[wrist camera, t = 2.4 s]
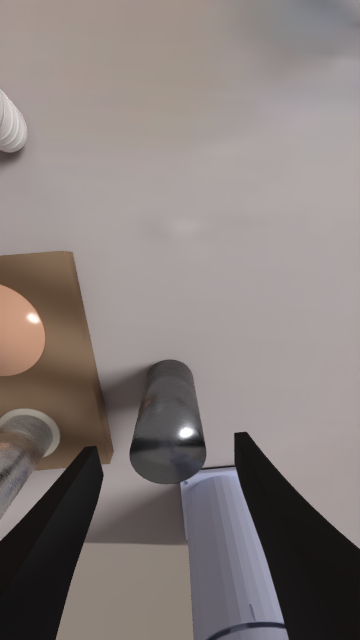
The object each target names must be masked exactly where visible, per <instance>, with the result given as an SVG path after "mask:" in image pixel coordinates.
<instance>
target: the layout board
mask: <svg viewBox="0 0 360 640" xmlns="http://www.w3.org/2000/svg"><path fill="white" fill-rule="evenodd" d="M87 446H97V449H98V454H99V458H100V462H101V464H110V461H111V458H112V455H113V452H114V451H113V446H112V441H111V436H110V431H109V427H108V422H107V417H106V412H105V407H104V402H103V398H102V393H101V388H100V383H99V378H98V373H97V369H96V364H95V359H94V354H93V349H92V345H91V340H90V335H89V330H88V325H87V320H86V316H85V311H84V306H83V301H82V296H81V291H80V287H79V282H78V277H77V272H76V267H75V262H74V258H73V253H72V252H67V251H56V252H43V253H30V254H17V255H4V256H0V519H1V518H2V516H3V515H4V513H5V512H6V510H7V509H8V507H9V506H10V504H11V503H12V501H13V500H14V499H15V497H16V496H17V494H18V493H19V491H20V490H21V488H22V487H23V485H24V484H25V482H26V481H27V480H28V478H29V477H30V475H31V474H32V472H33V471H35V470H46V469H57V468H67V467H68V466H69V465H70V464H71V463H72V461H73V460H74V459H75V458H76V457H77V455H78V454H79V453H80V452H81V451H82V449H83V448H84V447H87Z"/></svg>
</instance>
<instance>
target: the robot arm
mask: <svg viewBox="0 0 360 640" xmlns="http://www.w3.org/2000/svg"><path fill="white" fill-rule="evenodd" d="M234 452H235V467H229V468H219V469H208V470H200V471H199V472H198V473H197V474H195V475H194V476H193V477H191V478H190V479H188V480H185V481H183V482H180V488H181V498H182V508H183V518H184V527H185V537H186V540H187V541H188V547H189V564H190V583H191V600H192V617H193V636H194V640H360V549H359V548H358V547H357V546H356V545H354V544H353V543H352V542H351V541H350V540H348V539H347V538H346V537H345V536H344V535H343V534H341V533H340V532H339V531H338V530H337V529H336V528H335V527H334V526H333V525H331V524H330V523H329V522H328V521H327V520H326V519H325V518H324V517H323V516H322V515H321V514H320V513H319V512H318V511H316V510H315V509H314V508H313V507H312V506H311V505H310V504H309V503H308V502H307V501H306V500H305V499H304V498H303V497H302V496H301V495H300V494H299V493H298V492H297V491H296V490H295V488H294V487H293V486H292V485H291V484H290V483H289V482H288V481H287V480H286V479H285V478H284V477H283V476H282V474H281V473H280V472H279V471H278V470H277V469H276V468H275V466H274V465H273V464H272V463H271V462H270V461H269V459H268V458H267V457H266V456H265V455H264V453H263V452H262V451H261V450H260V448H259V447H258V446H257V445H256V443H255V442H254V441H253V440H252V438H251V437H250V436H249V434H248V433H247V432H239V433H234ZM103 476H104V475H103V470H102V466H101V462H100V458H99V454H98V449H97V446H87V447H84V448H83V449H82V451H81V452H80V453H79V454H78V455H77V457H76V458H75V459H74V460H73V461H72V463H71V464H70V465H69V466H68V467H67V469H66V470H65V471H64V472H63V473H62V475H61V476H60V477H59V478H58V479H57V480H56V482H55V483H54V484H53V485H52V486H51V487H50V489H49V490H48V491H47V492H46V493H45V494H44V495H43V497H42V498H41V499H40V500H39V501H38V502H37V503H36V504H35V505H34V506H33V508H32V509H31V510H30V511H29V512H28V513H27V514H26V515H25V516H24V517H23V518H22V520H21V521H20V522H19V523H18V524H17V525H16V526H15V527H14V528H13V529H12V530H11V531H10V532H9V533H8V534H7V535H6V536H5V537H4V538H3V539H2V540H1V541H0V640H55V639H56V636H57V632H58V628H59V624H60V620H61V616H62V613H63V609H64V605H65V602H66V598H67V594H68V591H69V587H70V583H71V580H72V576H73V573H74V570H75V567H76V564H77V561H78V558H79V555H80V552H81V549H82V546H83V543H84V540H85V537H86V534H87V532H88V529H89V526H90V523H91V520H92V517H93V514H94V511H95V508H96V505H97V502H98V498H99V494H100V490H101V485H102V481H103Z"/></svg>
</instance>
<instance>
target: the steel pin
mask: <svg viewBox="0 0 360 640" xmlns="http://www.w3.org/2000/svg"><path fill="white" fill-rule="evenodd" d="M205 459H206V446H205V441H204V435H203V430H202V424H201V419H200V413H199V408H198V402H197V397H196V391H195V386H194V380H193V375H192V373H191V371H190V369H189V368H188V367H187V366H186V365H185V364H184V363H182V362H180V361H177V360H164V361H161V362H158V363H157V364H155V365H154V366H153V367H152V368H151V369H150V371H149V373H148V375H147V380H146V384H145V388H144V392H143V397H142V401H141V405H140V409H139V414H138V418H137V422H136V427H135V431H134V435H133V439H132V444H131V448H130V461H131V464H132V466H133V468H134V469H135V471H136V472H137V473H138V474H139V475H140V476H142V477H143V478H145V479H147V480H149V481H151V482H155V483H159V484H175V483H179V482H183V481H185V480H188V479H190V478H191V477H193V476H194V475H195V474H197V473H198V472H199V471H200V469H201V468H202V466H203V465H204V462H205Z"/></svg>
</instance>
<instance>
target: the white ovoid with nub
mask: <svg viewBox="0 0 360 640" xmlns="http://www.w3.org/2000/svg"><path fill="white" fill-rule="evenodd" d="M26 139H27V126H26V122H25V120H24V118H23V116H22V114H21V113H20V111H19V110H18V109H17V108H16V107H15V106H14V105H13V103H12V102H11V100H10V99H9V98H8V97H7V96H6V95H5V94H4V93H3V91H2V90H1V89H0V150H1V151H4V152H10V153H11V152H16V151H18V150H20V149H21V148H22V147H23V146H24V144H25V142H26Z"/></svg>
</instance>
